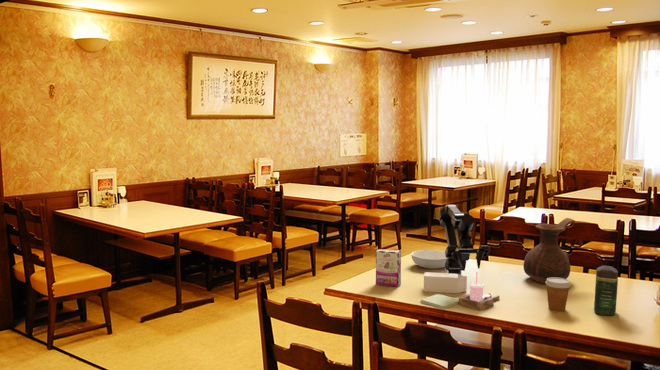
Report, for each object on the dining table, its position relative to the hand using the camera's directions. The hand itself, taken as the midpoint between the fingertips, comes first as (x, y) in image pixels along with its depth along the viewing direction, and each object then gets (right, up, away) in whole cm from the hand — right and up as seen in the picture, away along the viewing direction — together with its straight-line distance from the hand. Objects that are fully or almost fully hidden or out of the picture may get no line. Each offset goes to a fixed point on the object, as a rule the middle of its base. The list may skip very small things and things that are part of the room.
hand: (471, 268), depth 237 cm
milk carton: (-18, -8, +16) cm, 25 cm away
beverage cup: (0, -15, -7) cm, 16 cm away
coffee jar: (+50, -15, -16) cm, 54 cm away
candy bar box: (-33, -11, +24) cm, 42 cm away
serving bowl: (-7, -8, +57) cm, 58 cm away
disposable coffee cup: (+32, -15, -12) cm, 37 cm away
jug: (+45, -11, +31) cm, 55 cm away
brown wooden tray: (+4, -14, -4) cm, 15 cm away
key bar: (+5, -14, -2) cm, 15 cm away
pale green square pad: (-14, -14, -3) cm, 20 cm away
